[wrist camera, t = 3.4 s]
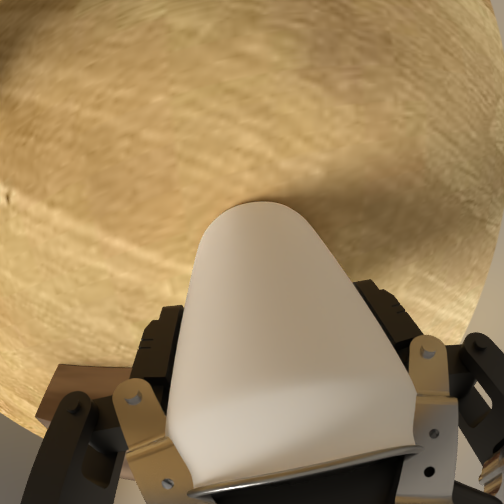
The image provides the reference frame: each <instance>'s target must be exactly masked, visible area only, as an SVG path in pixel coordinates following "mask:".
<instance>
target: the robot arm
mask: <svg viewBox="0 0 504 504" xmlns="http://www.w3.org/2000/svg"><path fill="white" fill-rule="evenodd" d="M353 285H354V286H355V288H356V289H357V291H358V292H359V294H360V295H361V297H362V298H363V300H364V301H365V303H366V304H367V306H368V307H369V309H370V310H371V312H372V314H373V315H374V317H375V318H376V320H377V321H378V323H379V325H380V326H381V328H382V329H383V331H384V333H385V334H386V336H387V337H388V339H389V341H390V342H391V344H392V346H393V348H394V349H395V351H396V353H397V354H398V356H399V358H400V359H401V361H402V363H403V365H404V367H405V368H406V370H407V372H408V374H409V376H410V378H411V380H412V382H413V384H414V387H415V390H416V392H417V395H416V403H415V413H414V421H413V437H414V441H415V444H416V445H420V446H422V447H423V451H422V452H421V453H410V454H404V455H399V456H396V457H392V458H389V459H386V460H383V461H380V462H377V463H374V464H371V465H369V466H368V467H359V468H356V469H354V470H353V471H352V472H348V473H341V474H337V475H333V476H328V477H324V478H320V479H315V480H310V481H305V482H300V483H297V484H295V485H290V484H283V485H280V486H278V487H275V486H273V487H264V488H253V489H238V490H230V491H224V492H218V493H212V494H207V495H202V496H198V497H194V498H191V497H188V496H187V492H188V491H189V490H192V489H193V488H194V487H193V481H192V476H191V473H190V471H189V469H188V467H187V465H186V464H185V462H184V460H183V459H182V457H181V456H180V454H179V452H178V451H177V449H176V447H175V445H174V444H173V442H172V440H171V439H170V438H169V437H165V428H166V417H167V408H168V401H169V393H170V386H171V380H172V373H173V367H174V361H175V355H176V349H177V344H178V338H179V333H180V327H181V322H182V317H183V312H184V308H183V306H182V305H177V306H166V307H163V308H162V311H161V314H160V318H159V320H152V321H151V322H150V324H149V325H148V326H147V327H146V328H145V329H144V332H143V335H142V338H141V342H140V345H139V349H138V351H137V354H136V357H135V361H134V364H133V367H132V371H131V374H130V377H129V379H128V380H126V381H124V382H122V383H120V384H119V385H118V386H117V387H116V389H115V390H114V393H113V395H110V396H107V397H102V398H98V399H93V400H92V399H91V398H90V397H89V396H88V395H87V394H86V393H85V392H82V391H74V392H71V393H69V394H67V395H66V396H64V397H63V399H62V400H61V402H60V403H59V405H58V408H57V410H56V412H55V414H54V416H53V418H52V421H51V423H50V425H49V427H48V430H47V432H46V434H45V437H44V439H43V442H42V444H41V447H40V449H39V451H38V454H37V457H36V459H35V462H34V464H33V467H32V470H31V473H30V476H29V478H28V481H27V485H26V488H25V491H24V494H23V497H22V501H21V504H113V503H114V498H115V494H116V489H117V485H118V481H119V477H120V473H121V469H122V465H123V461H124V457H125V454H126V459H127V462H128V464H129V467H130V469H131V472H132V474H133V476H134V479H135V481H136V483H137V485H138V487H139V489H140V491H141V494H142V496H143V498H144V500H145V502H146V504H504V353H503V352H502V351H501V350H500V349H499V348H498V347H497V346H496V345H495V344H494V342H493V341H492V340H491V339H490V338H489V337H487V336H486V335H484V334H482V333H476V332H475V333H470V334H469V335H467V337H466V338H465V340H464V342H463V344H461V345H444V343H443V342H442V341H441V340H439V339H438V338H436V337H434V336H431V335H424V334H423V333H422V332H421V330H420V329H419V328H418V326H417V325H416V324H415V322H414V321H413V320H412V318H411V317H410V316H409V314H408V313H407V312H405V309H404V308H403V307H402V305H400V303H399V302H398V300H397V299H396V298H395V297H394V295H392V294H390V293H389V292H387V291H386V290H384V289H382V290H379V289H378V287H377V286H376V285H375V283H374V282H373V281H372V280H370V279H369V280H364V281H358V282H353ZM477 381H478V382H479V384H480V385H481V386H482V387H483V389H484V390H485V392H486V393H487V394H488V396H489V397H490V398H491V400H492V409H491V408H490V407H489V406H488V405H487V403H486V402H485V400H484V399H483V398H482V397H481V395H480V394H479V392H478V391H477V390H476V388H475V387H474V385H475V384H476V382H477ZM458 426H459V428H460V429H461V431H462V433H463V434H464V436H465V437H466V439H467V441H468V442H469V444H470V446H471V447H472V449H473V451H474V452H475V454H476V455H477V457H478V459H479V461H480V462H481V464H482V466H483V469H482V474H481V475H480V476H479V483H480V484H481V485H484V492H482V491H480V490H477V489H475V488H472V487H469V486H467V485H465V484H462V483H460V482H458V481H455V480H454V478H455V470H456V460H457V446H458ZM126 450H129V452H127V453H126Z"/></svg>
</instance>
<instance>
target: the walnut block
mask: <svg viewBox="0 0 504 504" xmlns="http://www.w3.org/2000/svg"><path fill="white" fill-rule="evenodd" d="M131 371H132V368H108V367H87V366H73V365H62V364H59V365H58V367H57V369H56V371H55V373H54V375H53V377H52V379H51V381H50V384H49V386H48V388H47V390H46V392H45V394H44V397H43V399H42V401H41V404H40V406H39V408H38V411H37V413H36V415H35V417H36V418H37V419H38V420H39V421H40V422H41V423H42V424H43V425H44V426H45V427H46V428H47V429H48V427H49V425H50V423H51V421H52V418H53V416H54V414H55V412H56V410H57V408H58V405H59V403H60V402H61V400H62V399H63V397H64V396H66V395H67V394H69V393H71V392H74V391H82V392H85V393H86V394H87V395H88V396H89V397H90V398H91V399H92V400H93V399H98V398H102V397H107V396H110V395H113V393H114V390H115V389H116V387H117V386H118V385H119V384H120V383H122V382H124V381H126V380H128V379H129V377H130V374H131ZM127 452H129V450H126V453H127ZM119 478H123V479H128V480H134V481H135V479H134V476H133V474H132V472H131V469H130V467H129V464H128V462H127V459H126V454H125V457H124V461H123V465H122V469H121V473H120V477H119Z"/></svg>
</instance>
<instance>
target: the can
mask: <svg viewBox="0 0 504 504" xmlns="http://www.w3.org/2000/svg"><path fill="white" fill-rule="evenodd" d="M416 395H417V392H416V390H415V387H414V384H413V382H412V380H411V378H410V376H409V374H408V372H407V370H406V368H405V367H404V365H403V363H402V361H401V359H400V358H399V356H398V354H397V353H396V351H395V349H394V348H393V346H392V344H391V342H390V341H389V339H388V337H387V336H386V334H385V333H384V331H383V329H382V328H381V326H380V325H379V323H378V321H377V320H376V318H375V317H374V315H373V314H372V312H371V310H370V309H369V307H368V306H367V304H366V303H365V301H364V300H363V298H362V297H361V295H360V294H359V292H358V291H357V289H356V288H355V286H354V285H353V283H352V282H351V280H350V279H349V277H348V276H347V274H346V273H345V272H344V270H343V269H342V267H341V266H340V264H339V263H338V262H337V260H336V259H335V257H334V256H333V255H332V253H331V252H330V250H329V249H328V248H327V246H326V245H325V244H324V242H323V241H322V239H321V238H320V237H319V235H318V234H317V233H316V232H315V230H314V229H313V228H312V226H311V225H310V224H309V223H308V222H307V221H306V220H305V219H304V218H303V217H302V216H301V215H300V214H299V213H297V212H296V211H294V210H293V209H291V208H289V207H287V206H285V205H283V204H279V203H275V202H251V203H245V204H241V205H238V206H235V207H233V208H231V209H229V210H227V211H225V212H224V213H222V214H221V215H219V216H218V217H217V218H216V219H215V220H214V221H213V222H212V223H211V224H210V225H209V226H208V228H207V229H206V231H205V232H204V234H203V236H202V238H201V241H200V243H199V246H198V250H197V254H196V258H195V262H194V266H193V270H192V275H191V279H190V284H189V288H188V293H187V297H186V302H185V307H184V312H183V317H182V322H181V327H180V333H179V338H178V344H177V349H176V355H175V361H174V367H173V373H172V380H171V386H170V393H169V401H168V408H167V417H166V428H165V437H169V438H170V439H171V440H172V442H173V444H174V445H175V447H176V449H177V451H178V452H179V454H180V456H181V457H182V459H183V460H184V462H185V464H186V465H187V467H188V469H189V471H190V473H191V476H192V481H193V487H194V488H193V489H192V490H189V491H188V492H187V496H188V497H191V498H194V497H198V496H202V495H207V494H212V493H218V492H224V491H230V490H238V489H253V488H264V487H273V486H275V487H278V486H280V485H283V484H290V485H295V484H297V483H300V482H305V481H310V480H315V479H320V478H324V477H328V476H333V475H337V474H341V473H348V472H352V471H353V470H354V469H356V468H359V467H368V466H369V465H371V464H374V463H377V462H380V461H383V460H386V459H389V458H392V457H396V456H399V455H404V454H410V453H421V452H422V451H423V447H422V446H420V445H416V444H415V441H414V437H413V421H414V413H415V403H416Z"/></svg>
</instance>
